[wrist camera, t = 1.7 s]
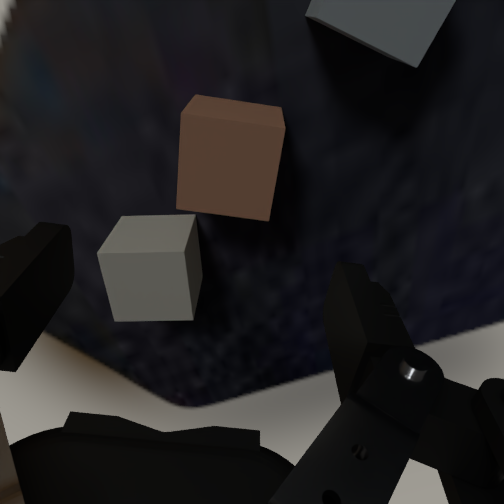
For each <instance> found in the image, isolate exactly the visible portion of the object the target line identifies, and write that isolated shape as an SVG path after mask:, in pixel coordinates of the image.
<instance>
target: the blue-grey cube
mask: <svg viewBox="0 0 504 504" xmlns="http://www.w3.org/2000/svg"><path fill="white" fill-rule="evenodd" d="M455 1H456V0H312V1H311V3H310V5H309V8H308V10H307V12H306V15H305V16H307V17H309V18H311V19H313V20H315V21H317V22H319V23H321V24H323V25H325V26H327V27H329V28H331V29H333V30H335V31H337V32H339V33H341V34H343V35H345V36H347V37H349V38H351V39H353V40H355V41H357V42H359V43H361V44H363V45H365V46H367V47H369V48H371V49H373V50H375V51H377V52H379V53H381V54H383V55H385V56H387V57H389V58H392V59H394V60H397V61H400V62H402V63H405V64H408V65H410V66H413V67H416V68H417V67H418V65H419V63H420V62H421V60H422V58H423V56H424V55H425V53H426V51H427V49H428V48H429V46H430V44H431V42H432V41H433V39H434V37H435V36H436V34H437V32H438V30H439V29H440V27H441V25H442V23H443V22H444V20H445V18H446V17H447V15H448V13H449V11H450V10H451V8H452V6H453V4H454V3H455Z"/></svg>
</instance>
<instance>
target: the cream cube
mask: <svg viewBox="0 0 504 504" xmlns="http://www.w3.org/2000/svg"><path fill="white" fill-rule="evenodd" d="M97 256H98V260H99V263H100V267H101V271H102V275H103V279H104V283H105V286H106V290H107V294H108V298H109V302H110V306H111V309H112V313H113V317H114V321H174V320H193V319H194V315H195V310H196V305H197V301H198V296H199V291H200V287H201V282H202V277H203V274H202V266H201V257H200V248H199V239H198V231H197V222H196V215H154V216H122V217H121V218H120V220H119V221H118V223H117V224H116V226H115V227H114V229H113V230H112V232H111V233H110V235H109V236H108V238H107V239H106V241H105V242H104V244H103V245H102V247H101V248H100V249H99V251H98V252H97Z"/></svg>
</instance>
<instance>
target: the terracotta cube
mask: <svg viewBox="0 0 504 504" xmlns="http://www.w3.org/2000/svg"><path fill="white" fill-rule="evenodd" d="M285 129H286V128H285V123H284V119H283V114H282V109H281V107H275V106H268V105H261V104H255V103H248V102H241V101H235V100H228V99H222V98H215V97H208V96H202V95H195V96H194V97H193V98H192V100H191V101H190V102H189V104H188V105H187V106H186V107H185V109H184V110H183V111H182V113H181V126H180V146H179V165H178V185H177V205H176V209H181V210H189V211H196V212H204V213H211V214H218V215H226V216H233V217H241V218H248V219H255V220H263V221H269V218H270V212H271V207H272V201H273V195H274V190H275V184H276V179H277V173H278V168H279V162H280V157H281V151H282V145H283V140H284V134H285Z"/></svg>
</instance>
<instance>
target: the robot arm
mask: <svg viewBox="0 0 504 504" xmlns="http://www.w3.org/2000/svg"><path fill="white" fill-rule="evenodd" d="M73 280H74V259H73V248H72V237H71V230H70V228H69V226H68V225H62V224H54V223H47V222H39V223H38V224H37V225H36V226H35V227H34V228H33V229H32V230H31V231H30V232H29V233H28V234H27V235H25V236H17V237H15V238H13V239H11V240H9V241H7V242H5V243H2V244H1V245H0V370H1V371H10V372H16V371H17V370H18V368H19V367H20V365H21V363H22V362H23V360H24V359H25V357H26V356H27V354H28V353H29V351H30V350H31V348H32V347H33V345H34V344H35V342H36V341H37V339H38V338H39V336H40V335H41V333H42V332H43V330H44V329H45V327H46V326H47V324H48V323H49V321H50V320H51V318H52V317H53V315H54V314H55V312H56V311H57V309H58V308H59V306H60V304H61V303H62V301H63V300H64V298H65V297H66V295H67V294H68V292H69V291H70V289H71V287H72V284H73ZM323 322H324V327H325V332H326V336H327V341H328V346H329V350H330V355H331V360H332V364H333V369H334V373H335V378H336V383H337V387H338V392H339V397H340V401H341V405H340V407H339V408H338V410H337V411H336V412H335V414H334V415H333V416H332V418H331V419H330V420H329V422H328V423H327V424H326V426H325V427H324V428H323V430H322V431H321V432H320V434H319V435H318V436H317V438H316V439H315V440H314V442H313V443H312V444H311V446H310V447H309V448H308V450H307V451H306V452H305V454H304V455H303V456H302V458H301V459H300V460H299V462H298V463H297V464H296V466H294V465H293V464H291V463H290V462H289V461H288V460H287V459H285V458H283V457H282V456H280V455H279V454H277V453H275V452H273V451H271V450H269V449H267V448H265V447H262V446H260V431H259V430H249V429H239V428H228V427H219V426H211V427H203V428H196V429H188V430H181V431H173V432H161V431H158V430H155V429H152V428H150V427H147V426H144V425H141V424H138V423H135V422H132V421H130V420H127V419H124V418H121V417H119V416H110V415H100V414H89V413H79V412H70V413H69V416H68V418H67V420H66V422H65V424H64V426H63V427H59V428H54V429H50V430H46V431H42V432H39V433H36V434H33V435H31V436H28V437H26V438H24V439H21V440H19V441H17V442H15V443H13V444H11V445H10V446H9V443H8V440H7V436H6V432H5V428H4V425H3V421H2V417H1V413H0V504H388V503H389V500H390V498H391V496H392V494H393V492H394V490H395V488H396V486H397V483H398V481H399V479H400V477H401V475H402V473H403V471H404V469H405V467H406V464H407V462H408V460H409V458H410V459H412V460H415V461H418V462H420V463H423V464H425V465H427V466H430V467H432V468H435V469H437V470H438V473H439V476H440V479H441V482H442V485H443V488H444V491H445V494H446V497H447V500H448V503H449V504H504V379H500V378H490V379H487V380H485V381H484V382H483V383H482V385H481V386H480V388H479V389H478V390H477V389H473V388H471V387H468V386H465V385H463V384H459V383H457V382H454V381H451V380H449V379H446V378H444V374H443V371H442V369H441V368H440V366H439V365H438V364H437V363H436V361H435V360H433V359H432V358H431V357H430V356H428V355H427V354H425V353H423V352H422V351H420V350H417V349H415V347H414V345H413V343H412V341H411V339H410V336H409V334H408V332H407V330H406V328H405V326H404V324H403V321H402V319H401V317H399V313H398V311H397V309H396V308H395V304H394V302H393V300H392V298H391V296H390V294H389V293H388V292H387V291H386V290H385V289H384V288H383V287H382V286H381V285H380V284H379V283H378V282H371V281H370V279H369V277H368V274H367V272H366V269H365V267H364V265H362V264H355V263H348V262H340V261H339V262H337V264H336V266H335V268H334V272H333V275H332V278H331V282H330V285H329V288H328V292H327V295H326V299H325V302H324V307H323Z"/></svg>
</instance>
